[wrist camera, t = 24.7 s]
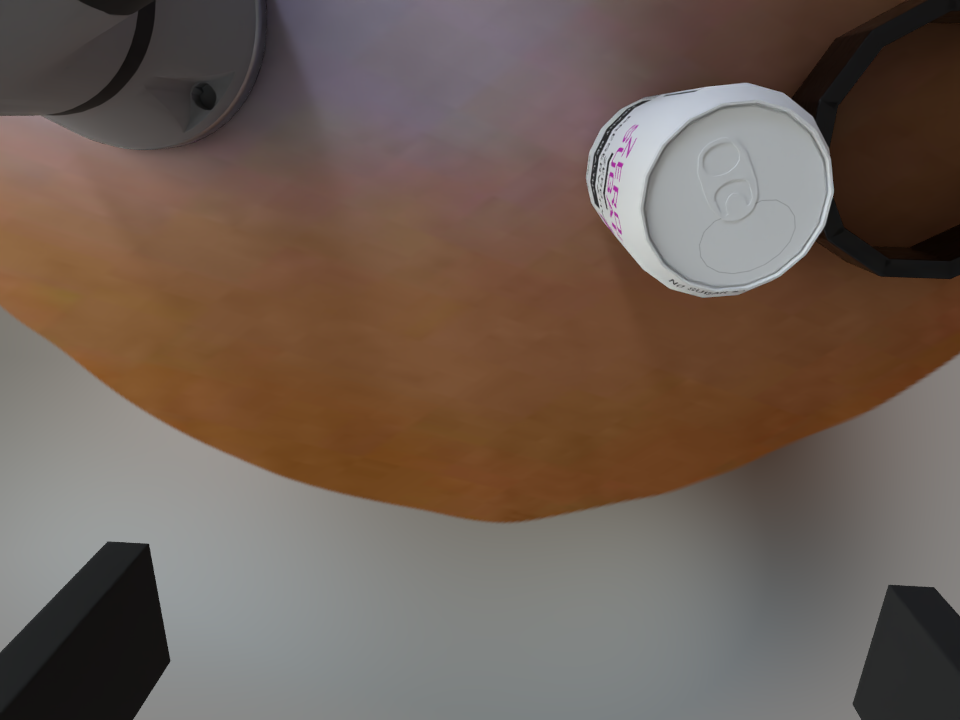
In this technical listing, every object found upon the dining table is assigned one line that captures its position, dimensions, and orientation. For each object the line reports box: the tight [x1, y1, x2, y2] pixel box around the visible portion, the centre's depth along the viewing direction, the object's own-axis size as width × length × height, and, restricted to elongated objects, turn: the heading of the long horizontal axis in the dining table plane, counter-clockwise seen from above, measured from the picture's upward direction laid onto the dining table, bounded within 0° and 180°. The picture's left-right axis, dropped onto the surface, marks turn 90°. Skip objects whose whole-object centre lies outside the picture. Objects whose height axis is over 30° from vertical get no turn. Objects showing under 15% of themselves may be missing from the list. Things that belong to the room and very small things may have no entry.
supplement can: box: [586, 83, 834, 298], centre depth 31 cm, size 8×8×15 cm
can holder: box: [792, 0, 960, 279], centre depth 35 cm, size 14×14×4 cm
